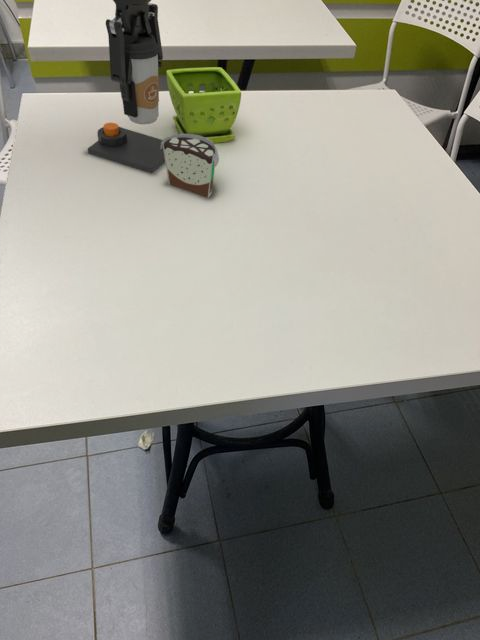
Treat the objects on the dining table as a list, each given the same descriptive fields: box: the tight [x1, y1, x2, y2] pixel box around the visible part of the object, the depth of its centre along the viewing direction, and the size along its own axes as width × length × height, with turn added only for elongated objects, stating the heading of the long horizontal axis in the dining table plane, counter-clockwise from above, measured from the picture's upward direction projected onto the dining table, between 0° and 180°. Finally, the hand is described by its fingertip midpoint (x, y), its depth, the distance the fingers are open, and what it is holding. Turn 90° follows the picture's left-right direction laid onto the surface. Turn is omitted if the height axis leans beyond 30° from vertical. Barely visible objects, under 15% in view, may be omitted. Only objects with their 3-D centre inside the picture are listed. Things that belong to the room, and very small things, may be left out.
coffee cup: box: [124, 33, 160, 125], centre depth 98 cm, size 8×8×15 cm
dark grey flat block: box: [87, 125, 166, 174], centre depth 110 cm, size 17×12×4 cm
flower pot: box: [166, 66, 242, 144], centre depth 114 cm, size 14×14×13 cm
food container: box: [161, 133, 220, 199], centre depth 101 cm, size 12×6×10 cm, turn 65°
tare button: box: [102, 122, 120, 136], centre depth 109 cm, size 3×3×2 cm
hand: (142, 107), depth 102 cm, fingers closed on coffee cup, 8 cm apart
